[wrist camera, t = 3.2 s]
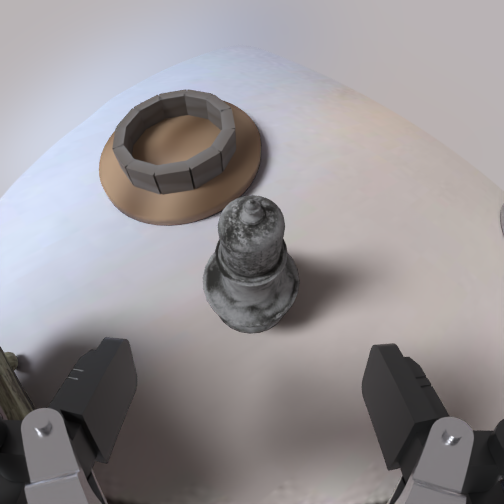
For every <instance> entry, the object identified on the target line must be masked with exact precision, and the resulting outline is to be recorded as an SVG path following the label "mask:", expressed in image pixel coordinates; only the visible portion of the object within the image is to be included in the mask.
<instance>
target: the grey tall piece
mask: <svg viewBox="0 0 504 504" xmlns="http://www.w3.org/2000/svg"><path fill="white" fill-rule="evenodd" d="M284 230H285V222H284V217H283V214H282V212H281V210H280V208H279V207H278V206H277V205H276V204H275V203H274V202H272V201H271V200H269V199H267V198H264V197H261V196H254V195H251V196H243V197H240V198H237V199H235V200H234V201H232V202H230V203H229V204H228V205H227V206H226V207H225V208H224V210H223V211H222V213H221V215H220V219H219V223H218V233H219V241H218V243H217V246H216V250H215V253H214V254H213V255H212V256H211V257H210V259H209V261H208V263H207V265H206V267H205V271H204V275H203V290H204V293H205V296H206V299H207V301H208V303H209V304H210V306H211V307H212V309H213V310H214V312H216V313H217V314H218V315H219V317H220V318H221V319H222V321H223V322H224V323H225V324H227V325H228V326H229V327H230V328H232V329H234V330H237V331H239V332H244V333H260V332H262V331H265V330H268V329H270V328H271V327H273V326H274V325H275V324H277V323H278V322H279V320H280V319H281V318H282V317H283V315H285V314H286V312H287V311H288V310H289V309H290V307H291V306H292V305H293V303H294V301H295V298H296V296H297V294H298V288H299V276H298V270H297V267H296V265H295V263H294V261H293V259H292V257H291V256H290V255H289V254H288V253H287V247H286V244H285V241H284V239H283V236H284Z"/></svg>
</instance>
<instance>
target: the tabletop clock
mask: <svg viewBox="0 0 504 504" xmlns="http://www.w3.org/2000/svg"><path fill="white" fill-rule="evenodd" d="M17 366H18V359H17V357H16V356H15V354H14V353H12V352H5V353H4V352H3V350H2V348H1V347H0V416H1V417H2V419H3V420H23V419H24V418H25V417H26V415H28V414H29V413H30V412H32V411H34V410H35V408H34V406H33V404H32V403H31V401H30V399H29V398H28V396H27V394H26V393H25V391H24V389H23V387H22V385H21V384H20V382H19V380H18V378H17V376H16V374H15V372H14V370H15V369H16V368H17ZM27 504H28V502H27Z"/></svg>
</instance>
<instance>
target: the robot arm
mask: <svg viewBox="0 0 504 504" xmlns="http://www.w3.org/2000/svg"><path fill="white" fill-rule="evenodd" d="M501 225H502V230H503V233H504V204H503V206H502V209H501ZM136 387H137V374H136V370H135V366H134V362H133V357H132V353H131V348H130V344H129V342H128V340H127V339H119V338H110V337H106V338H104V339H103V341H102V342H101V344H100V345H99V347H98V348H97V350H90V351H89V352H88V353H86V354H85V355H84V356H82V357H81V358H80V359H79V361H78V362H77V364H76V365H75V367H74V370H72V371H71V373H70V374H69V376H68V378H67V379H66V380H65V382H64V383H63V385H62V386H61V388H60V389H59V391H58V393H57V394H56V396H55V397H54V399H53V400H52V402H51V404H50V405H49V407H48V408H40V409H36V410H34V411H32V412H30V413H29V414H28V415H26V417H25V418H24V419H23V420H3V419H2V417H1V416H0V504H27V502H28V504H108V503H107V501H106V499H105V497H104V494H103V492H102V490H101V488H100V486H99V483H98V481H97V479H96V476H95V474H94V472H93V470H92V467H93V464H94V462H95V461H98V462H102V463H108V460H109V457H110V455H111V452H112V449H113V447H114V444H115V441H116V439H117V436H118V434H119V431H120V429H121V426H122V423H123V421H124V418H125V416H126V413H127V411H128V408H129V406H130V403H131V401H132V399H133V396H134V394H135V391H136ZM362 394H363V398H364V401H365V404H366V407H367V409H368V412H369V415H370V418H371V421H372V424H373V427H374V430H375V432H376V435H377V438H378V441H379V444H380V447H381V450H382V453H383V456H384V459H385V463H386V466H387V469H388V470H393V469H398V468H400V469H401V471H402V476H401V477H400V479H399V481H398V483H397V485H396V487H395V489H394V491H393V493H392V495H391V497H390V499H389V501H388V503H387V504H504V492H503V489H502V487H501V485H500V482H499V480H500V479H501V478H503V480H504V419H503V420H502V421H500V422H499V423H498V425H497V427H496V428H495V429H494V431H472V429H471V427H470V426H469V425H468V424H467V423H466V422H465V421H463V420H461V419H459V418H455V417H450V416H449V415H448V413H447V411H446V409H445V407H444V406H443V404H442V402H441V401H440V399H439V397H438V395H437V394H436V392H435V390H434V389H433V387H431V383H430V382H429V380H428V378H426V375H425V373H424V372H423V370H422V369H421V367H420V365H418V364H417V363H416V362H415V361H413V360H412V359H411V358H410V357H403V355H402V353H401V352H400V350H399V348H398V347H397V345H396V344H380V345H373V346H372V348H371V350H370V354H369V358H368V362H367V365H366V369H365V373H364V376H363V380H362Z"/></svg>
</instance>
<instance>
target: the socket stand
mask: <svg viewBox="0 0 504 504" xmlns="http://www.w3.org/2000/svg"><path fill="white" fill-rule="evenodd" d="M260 158H261V139H260V134H259V132H258V129H257V127H256V125H255V123H254V122H253V121H252V119H251V118H250V117H249V116H248V115H247V114H246V113H245V112H244V111H242V110H241V109H239V108H238V107H236V106H235V105H233V104H231V103H228V102H226V101H223V100H221V99H219V98H218V97H217V96H215V95H213V94H211V93H205V92H200V91H194V90H187V91H186V90H180V91H174V92H168V93H163V94H159V95H156V96H154V97H152V98H150V99H148V100H146V101H144V102H143V103H141V104H139V105H137V106H135V107H134V109H133V108H132V109H131V110H130V112H129V113H128V114H127V115H126V116H125V117H124V118H123V120H122V121H121V122H120V123H119V124H118V125H117V128H116V129H115V131H114V133H113V134H112V135H111V137H110V138H109V140H108V141H107V143H106V145H105V147H104V149H103V152H102V154H101V158H100V164H99V176H100V180H101V184H102V186H103V188H104V190H105V192H106V194H107V196H108V197H109V199H110V200H111V202H112V203H113V204H114V206H115V207H117V208H118V209H119V210H120V211H121V212H122V213H124V214H125V215H127V216H128V217H131V218H133V219H135V220H137V221H141V222H144V223H148V224H154V225H179V224H186V223H191V222H195V221H198V220H201V219H204V218H207V217H209V216H211V215H214V214H216V213H218V212H220V211H221V210H223V209H224V208H225V207H226V206H227V205H228V204H229V203H230V202H232V201H234V200H235V199H237V198H239V197H240V196H241V195H242V194H243V193H244V192H245V191H246V190H247V189H248V187H249V186H250V185H251V183H252V181H253V180H254V178H255V176H256V174H257V171H258V169H259V164H260Z"/></svg>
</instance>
